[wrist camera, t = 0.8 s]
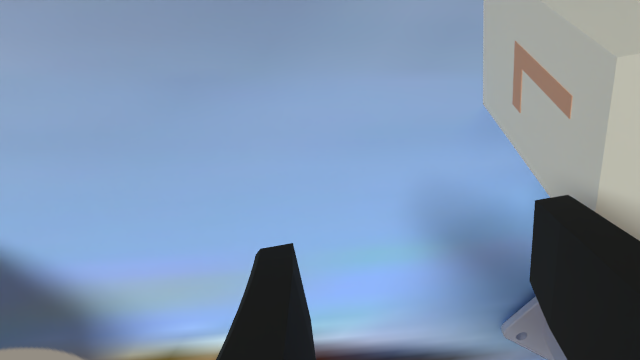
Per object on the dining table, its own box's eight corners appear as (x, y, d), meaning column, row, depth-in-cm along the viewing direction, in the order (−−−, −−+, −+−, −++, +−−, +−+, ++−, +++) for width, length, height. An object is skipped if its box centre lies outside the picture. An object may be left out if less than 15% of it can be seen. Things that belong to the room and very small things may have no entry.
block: (613, -65, 18) (823, 20, 11) (595, 84, 21) (755, 223, 14) (483, -42, 18) (616, 57, 11) (482, 104, 21) (588, 252, 14)
